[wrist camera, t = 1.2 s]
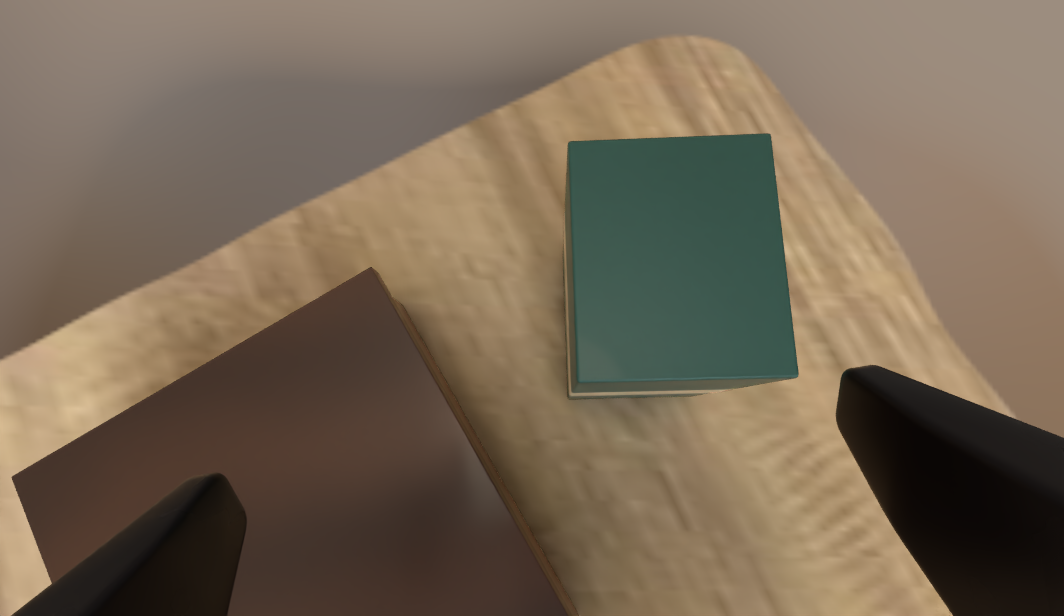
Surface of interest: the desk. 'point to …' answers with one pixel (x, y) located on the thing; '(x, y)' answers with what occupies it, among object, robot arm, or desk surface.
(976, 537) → the robot arm
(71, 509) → the walnut box
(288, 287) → the desk surface
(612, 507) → the desk surface
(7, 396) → the desk surface
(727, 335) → the tea packet
